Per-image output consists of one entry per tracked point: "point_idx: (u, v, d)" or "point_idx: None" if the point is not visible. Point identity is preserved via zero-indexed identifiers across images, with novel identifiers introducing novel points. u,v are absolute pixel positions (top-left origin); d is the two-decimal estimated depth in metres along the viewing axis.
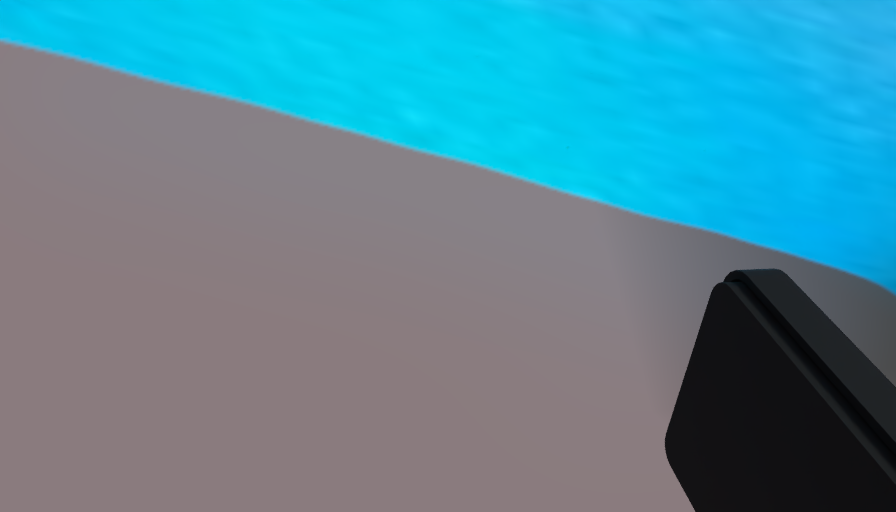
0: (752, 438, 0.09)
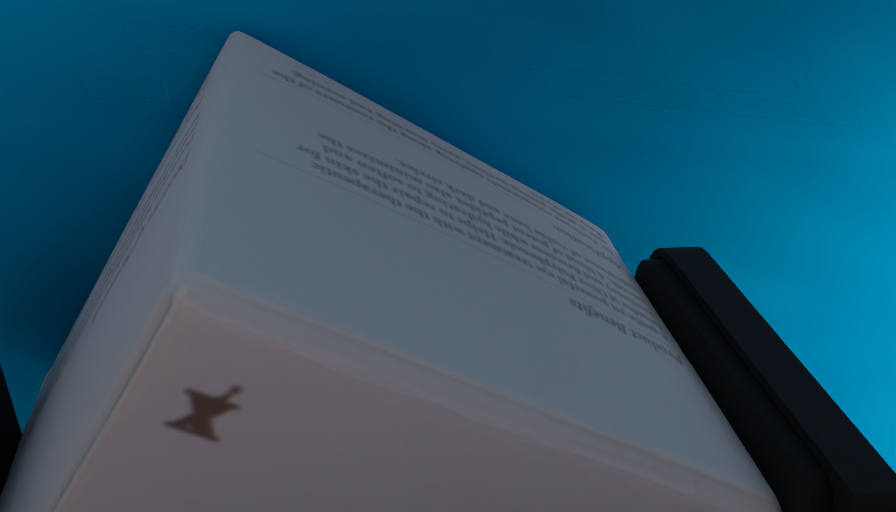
0: None
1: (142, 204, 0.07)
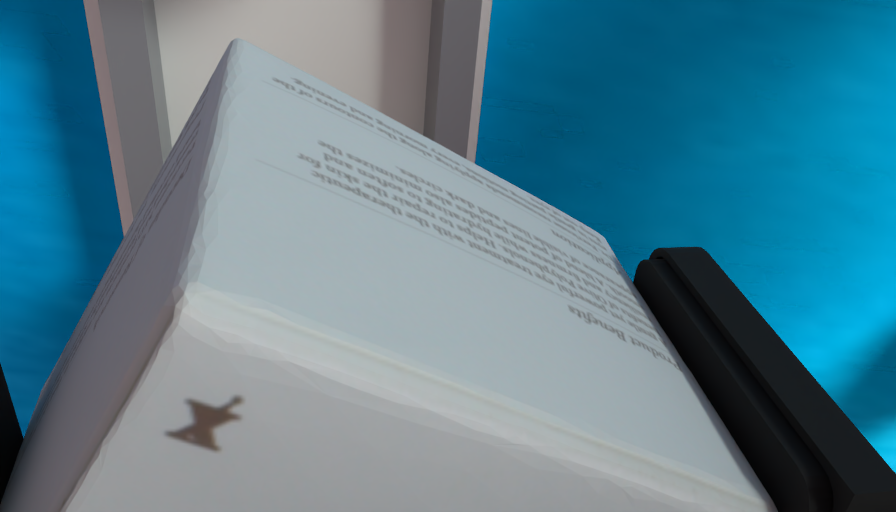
0: None
1: (143, 211, 0.08)
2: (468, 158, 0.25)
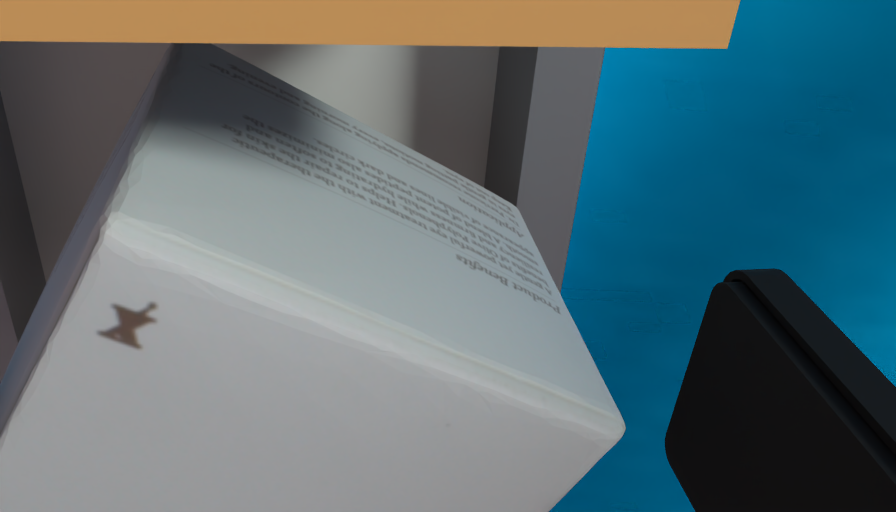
0: (752, 438, 0.09)
1: None
2: None
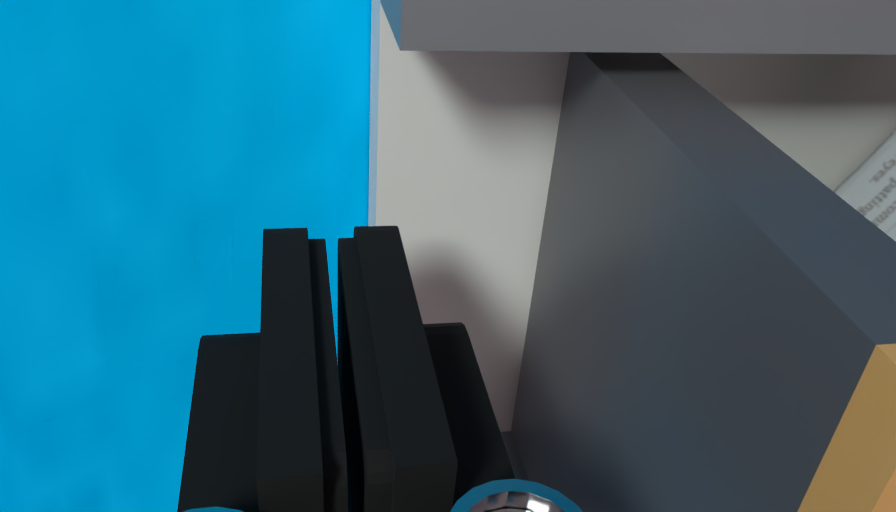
0: (346, 388, 0.09)
1: None
2: None
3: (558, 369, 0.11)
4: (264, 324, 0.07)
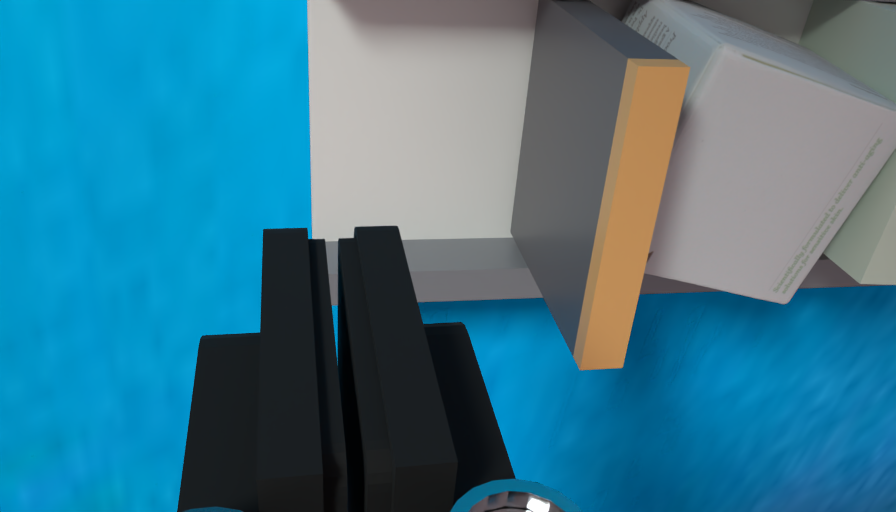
0: (346, 388, 0.09)
1: None
2: None
3: (534, 168, 0.20)
4: (264, 324, 0.07)
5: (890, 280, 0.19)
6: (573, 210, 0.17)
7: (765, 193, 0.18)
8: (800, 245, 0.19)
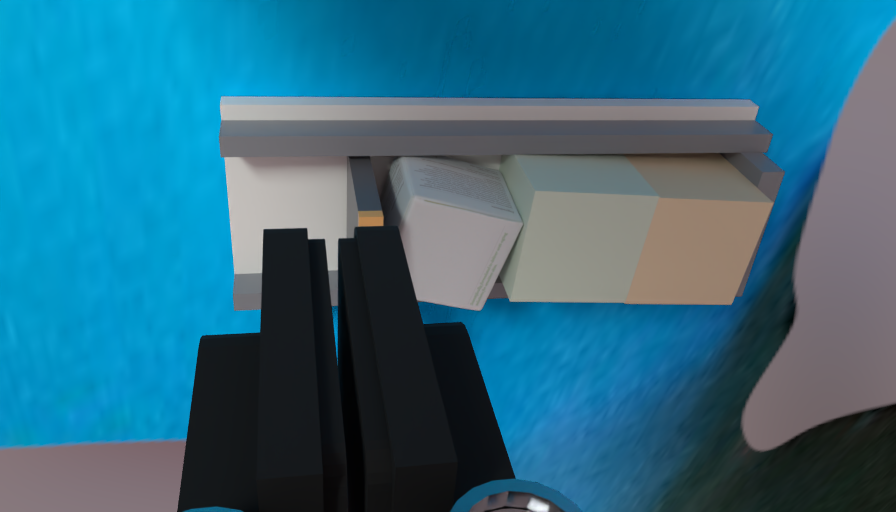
0: (345, 388, 0.09)
1: None
2: (474, 110, 0.37)
3: None
4: (264, 324, 0.07)
5: (526, 299, 0.37)
6: None
7: (451, 259, 0.36)
8: (478, 282, 0.37)
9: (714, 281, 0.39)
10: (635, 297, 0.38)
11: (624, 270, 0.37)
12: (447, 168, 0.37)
